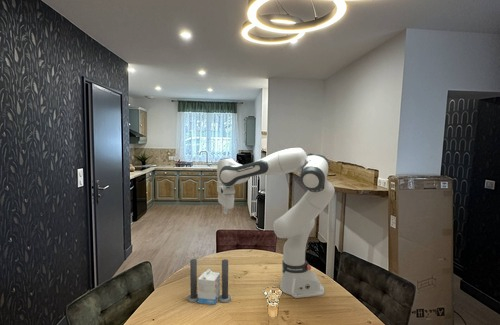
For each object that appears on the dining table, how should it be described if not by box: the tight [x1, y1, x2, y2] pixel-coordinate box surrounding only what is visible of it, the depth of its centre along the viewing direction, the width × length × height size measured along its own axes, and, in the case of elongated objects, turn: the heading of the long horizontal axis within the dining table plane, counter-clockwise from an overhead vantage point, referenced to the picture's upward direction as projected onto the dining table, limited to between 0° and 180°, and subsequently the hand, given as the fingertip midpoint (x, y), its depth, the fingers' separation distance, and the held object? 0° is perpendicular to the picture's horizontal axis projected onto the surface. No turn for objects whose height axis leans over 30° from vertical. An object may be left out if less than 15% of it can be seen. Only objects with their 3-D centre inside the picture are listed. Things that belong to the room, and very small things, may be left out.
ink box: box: [197, 268, 221, 306], centre depth 130 cm, size 9×8×13 cm
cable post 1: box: [186, 258, 198, 304], centre depth 130 cm, size 6×6×19 cm
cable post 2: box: [218, 258, 232, 304], centre depth 130 cm, size 6×6×19 cm
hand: (225, 213), depth 147 cm, fingers closed
